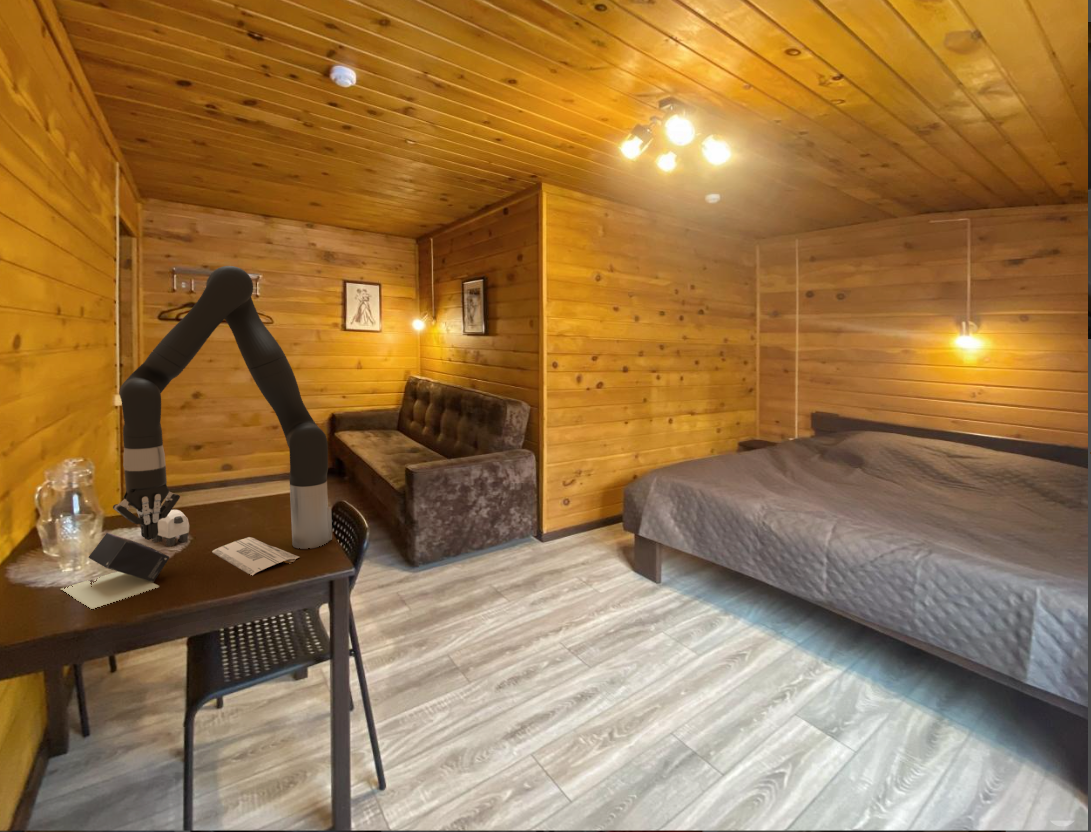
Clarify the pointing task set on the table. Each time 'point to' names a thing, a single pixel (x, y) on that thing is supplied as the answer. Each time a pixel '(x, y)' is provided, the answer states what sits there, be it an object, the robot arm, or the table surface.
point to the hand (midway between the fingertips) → (150, 538)
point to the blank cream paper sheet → (108, 589)
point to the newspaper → (252, 555)
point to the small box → (129, 557)
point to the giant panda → (173, 528)
